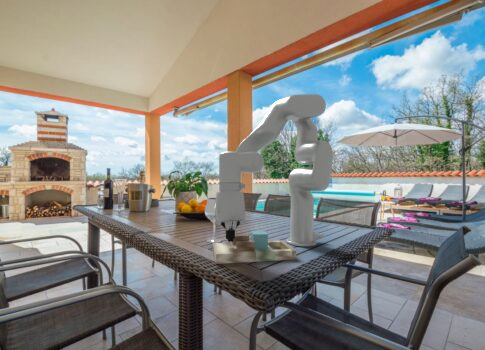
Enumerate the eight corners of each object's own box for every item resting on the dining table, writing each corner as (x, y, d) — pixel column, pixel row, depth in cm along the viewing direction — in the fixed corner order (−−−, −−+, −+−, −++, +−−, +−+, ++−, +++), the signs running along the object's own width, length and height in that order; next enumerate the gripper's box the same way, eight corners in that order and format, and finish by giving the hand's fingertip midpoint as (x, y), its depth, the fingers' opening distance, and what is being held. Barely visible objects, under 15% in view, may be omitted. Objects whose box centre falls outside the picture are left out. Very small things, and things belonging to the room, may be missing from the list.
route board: (282, 248, 95) (282, 232, 95) (296, 259, 83) (296, 241, 83) (212, 251, 90) (212, 234, 90) (215, 263, 77) (216, 244, 77)
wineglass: (205, 238, 108) (205, 197, 108) (223, 238, 108) (224, 197, 108) (203, 243, 99) (204, 199, 100) (223, 243, 100) (224, 199, 100)
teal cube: (264, 244, 89) (265, 231, 89) (267, 249, 84) (267, 234, 84) (251, 245, 88) (251, 231, 88) (253, 249, 83) (253, 234, 83)
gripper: (248, 186, 90) (248, 236, 90) (207, 187, 87) (207, 239, 87) (253, 188, 83) (254, 242, 83) (209, 188, 79) (209, 245, 80)
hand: (230, 240), depth 85 cm, fingers closed
